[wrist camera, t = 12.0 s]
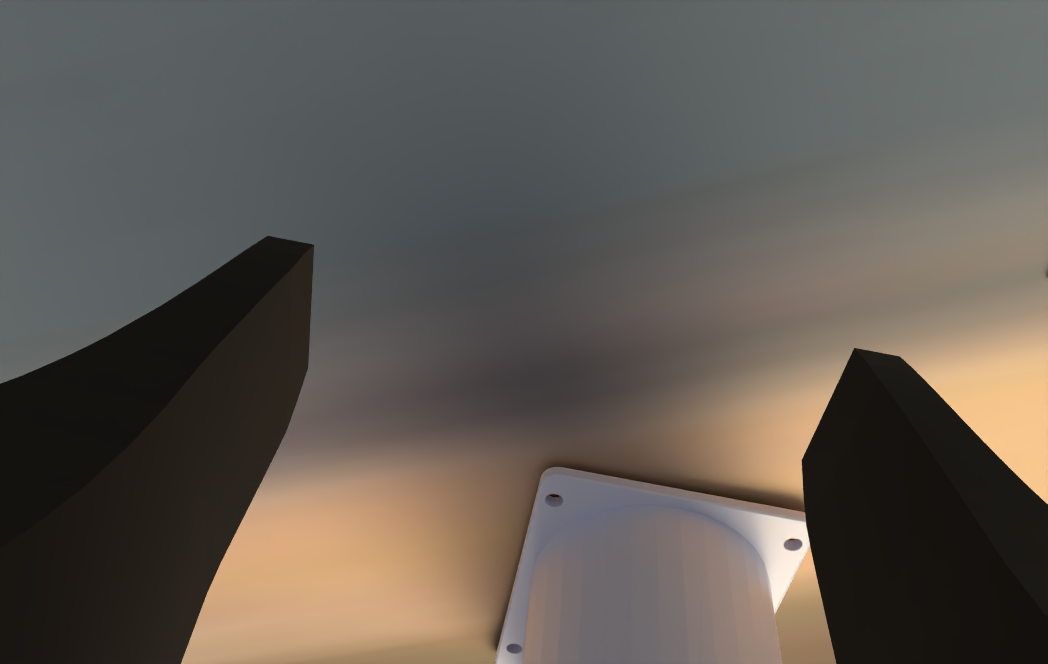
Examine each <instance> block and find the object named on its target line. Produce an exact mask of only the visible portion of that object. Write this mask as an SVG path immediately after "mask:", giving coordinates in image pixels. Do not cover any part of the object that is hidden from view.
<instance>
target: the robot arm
mask: <svg viewBox="0 0 1048 664" xmlns="http://www.w3.org/2000/svg"><path fill="white" fill-rule="evenodd" d="M313 254H314V245H312V244H307V243H302V242H297V241H291V240H286V239H281V238H276V237H271V236H267V237H265V238H264V239H262V240H261V241H259V242H257V243H256V244H254V245H253V246H251V247H250V248H248V249H247V250H245V251H244V252H242V253H241V254H239V255H238V256H236V257H235V258H233V259H232V260H230V261H229V262H227V263H226V264H224V265H223V266H221V267H220V268H218V269H217V270H215V271H214V272H212V273H211V274H209V275H208V276H206V277H205V278H204V279H202V280H201V281H199V282H197V283H196V284H194V285H193V286H191V287H190V288H188V289H187V290H185V291H183V292H182V293H180V294H179V295H177V296H176V297H174V298H172V299H171V300H169V301H168V302H166V303H165V304H163V305H161V306H160V307H158V308H156V309H154V310H153V311H151V312H149V313H147V314H146V315H144V316H142V317H140V318H139V319H137V320H135V321H133V322H131V323H130V324H128V325H126V326H124V327H123V328H121V329H119V330H117V331H116V332H114V333H112V334H110V335H109V336H107V337H105V338H103V339H101V340H99V341H97V342H95V343H93V344H91V345H89V346H87V347H85V348H83V349H81V350H79V351H77V352H75V353H73V354H71V355H68V356H66V357H64V358H62V359H59V360H57V361H55V362H53V363H50V364H48V365H46V366H44V367H41V368H39V369H37V370H35V371H32V372H30V373H27V374H25V375H22V376H20V377H18V378H15V379H12V380H9V381H7V382H4V383H1V384H0V664H181V662H182V659H183V656H184V654H185V651H186V648H187V645H188V643H189V640H190V637H191V635H192V632H193V629H194V627H195V624H196V621H197V619H198V616H199V613H200V611H201V608H202V605H203V603H204V600H205V597H206V595H207V592H208V590H209V588H210V585H211V583H212V581H213V579H214V576H215V574H216V572H217V570H218V567H219V565H220V563H221V561H222V559H223V557H224V555H225V553H226V551H227V549H228V547H229V545H230V543H231V541H232V539H233V537H234V535H235V533H236V531H237V529H238V527H239V525H240V523H241V521H242V519H243V517H244V515H245V513H246V511H247V509H248V507H249V505H250V503H251V501H252V499H253V497H254V495H255V493H256V491H257V489H258V487H259V485H260V484H261V482H262V480H263V478H264V476H265V474H266V471H267V469H268V467H269V465H270V463H271V461H272V459H273V457H274V455H275V453H276V451H277V449H278V447H279V445H280V443H281V441H282V439H283V437H284V435H285V433H286V431H287V428H288V425H289V422H290V420H291V417H292V414H293V411H294V408H295V405H296V403H297V400H298V396H299V393H300V390H301V387H302V384H303V381H304V378H305V375H306V372H307V369H308V357H309V336H310V316H311V295H312V274H313ZM802 473H803V492H804V505H805V512H801V511H796V510H790V509H785V508H780V507H774V506H769V505H763V504H758V503H753V502H747V501H742V500H736V499H731V498H726V497H720V496H715V495H709V494H704V493H699V492H693V491H688V490H682V489H677V488H672V487H666V486H661V485H655V484H650V483H645V482H639V481H634V480H628V479H623V478H618V477H612V476H607V475H601V474H596V473H591V472H585V471H580V470H575V469H569V468H564V467H552V468H548V469H547V470H545V471H544V472H543V474H542V475H541V478H540V482H539V486H538V490H537V494H536V498H535V502H534V506H533V510H532V514H531V518H530V522H529V526H528V530H527V534H526V538H525V542H524V545H523V549H522V553H521V557H520V561H519V565H518V569H517V573H516V577H515V581H514V585H513V589H512V593H511V597H510V601H509V605H508V609H507V613H506V617H505V621H504V625H503V629H502V633H501V637H500V641H499V645H498V649H497V652H496V658H495V664H782V658H781V651H780V645H779V639H778V632H777V626H776V619H775V613H776V611H777V609H778V607H779V605H780V603H781V601H782V599H783V597H784V596H785V594H786V592H787V590H788V588H789V586H790V584H791V582H792V580H793V578H794V576H795V574H796V572H797V570H798V568H799V566H800V564H801V562H802V560H803V559H804V557H805V555H806V553H807V551H808V549H809V547H811V552H812V556H813V561H814V566H815V570H816V575H817V579H818V584H819V588H820V593H821V597H822V602H823V606H824V610H825V615H826V619H827V624H828V628H829V633H830V637H831V642H832V646H833V650H834V655H835V659H836V664H1048V504H1047V503H1045V502H1044V501H1043V500H1042V499H1041V498H1040V497H1039V496H1038V495H1037V494H1036V493H1035V492H1034V491H1032V490H1031V489H1030V488H1029V487H1028V486H1027V485H1026V484H1025V483H1024V482H1023V481H1022V480H1021V479H1020V478H1019V477H1018V476H1017V475H1016V474H1015V473H1014V472H1013V471H1012V470H1011V469H1010V468H1009V467H1008V466H1007V465H1006V464H1005V463H1004V462H1003V461H1002V460H1001V459H1000V458H999V457H998V456H997V455H996V454H995V453H994V452H993V451H992V450H991V449H990V448H989V447H988V446H987V445H986V444H985V443H984V442H983V441H982V440H981V439H980V438H979V436H978V435H977V434H976V433H975V432H974V431H973V430H972V429H971V428H970V427H969V426H968V425H967V424H966V423H965V422H964V421H963V420H962V419H961V418H960V417H959V416H958V414H957V413H956V412H955V411H954V410H953V409H952V408H951V407H950V406H949V405H948V404H947V403H946V402H945V401H944V400H943V399H942V398H941V397H940V396H939V394H938V393H937V392H936V391H935V390H934V389H933V388H932V387H931V386H930V385H929V384H928V383H927V382H926V381H925V380H924V379H923V378H922V377H921V376H920V375H919V374H918V373H917V372H916V371H915V370H914V369H913V368H912V367H911V366H910V365H908V364H907V363H906V362H905V361H904V360H903V359H902V358H901V357H899V356H894V355H889V354H883V353H878V352H873V351H868V350H862V349H857V348H854V350H853V352H852V354H851V356H850V359H849V361H848V363H847V365H846V367H845V369H844V371H843V373H842V376H841V378H840V380H839V382H838V384H837V386H836V388H835V390H834V393H833V395H832V397H831V399H830V401H829V403H828V405H827V408H826V410H825V412H824V414H823V416H822V418H821V420H820V422H819V425H818V427H817V429H816V431H815V433H814V435H813V437H812V440H811V442H810V444H809V446H808V448H807V450H806V452H805V454H804V457H803V459H802ZM550 494H557V495H560V496H559V497H552V496H549V495H550ZM791 538H797V539H795V540H788V539H791Z"/></svg>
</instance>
